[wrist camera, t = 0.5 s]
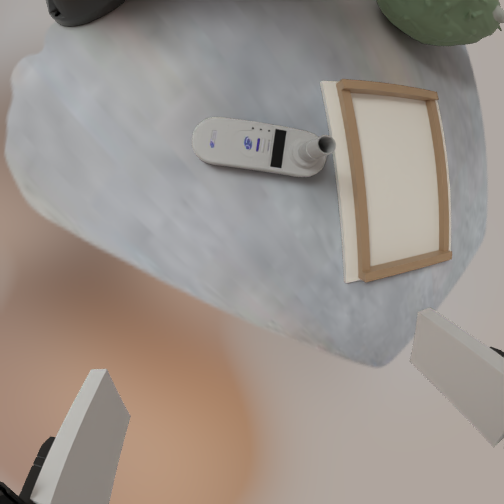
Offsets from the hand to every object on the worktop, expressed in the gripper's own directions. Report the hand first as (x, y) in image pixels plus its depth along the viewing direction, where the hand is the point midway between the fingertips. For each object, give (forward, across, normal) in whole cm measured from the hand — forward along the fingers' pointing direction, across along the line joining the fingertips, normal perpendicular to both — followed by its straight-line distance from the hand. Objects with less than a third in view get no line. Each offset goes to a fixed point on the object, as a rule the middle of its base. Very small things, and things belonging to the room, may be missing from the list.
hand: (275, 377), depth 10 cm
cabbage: (+24, +31, +33) cm, 52 cm away
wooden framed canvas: (+24, +23, +6) cm, 34 cm away
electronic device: (+24, +4, +11) cm, 27 cm away
